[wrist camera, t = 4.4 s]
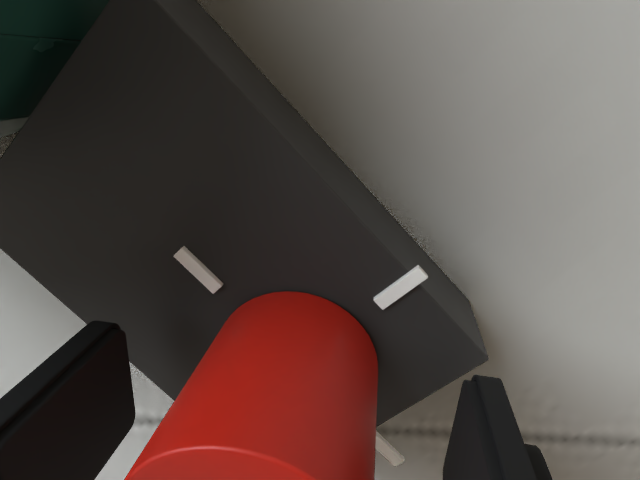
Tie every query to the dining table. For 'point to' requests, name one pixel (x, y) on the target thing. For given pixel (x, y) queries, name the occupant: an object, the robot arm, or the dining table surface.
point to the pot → (37, 50)
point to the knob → (274, 399)
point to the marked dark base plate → (212, 209)
